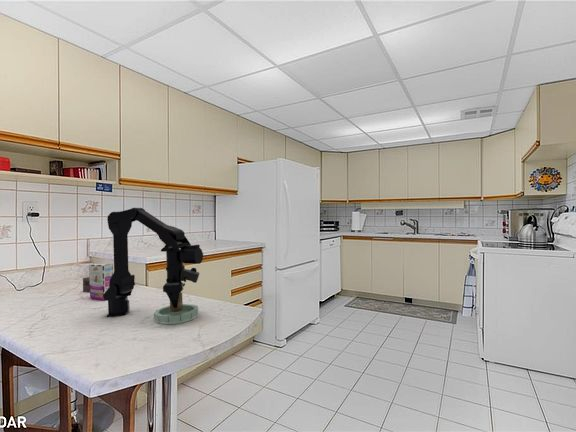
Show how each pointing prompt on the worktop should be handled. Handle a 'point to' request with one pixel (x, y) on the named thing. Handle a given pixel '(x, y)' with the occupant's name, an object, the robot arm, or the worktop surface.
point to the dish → (176, 314)
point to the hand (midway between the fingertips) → (176, 305)
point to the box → (86, 284)
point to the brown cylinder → (180, 304)
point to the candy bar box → (99, 279)
